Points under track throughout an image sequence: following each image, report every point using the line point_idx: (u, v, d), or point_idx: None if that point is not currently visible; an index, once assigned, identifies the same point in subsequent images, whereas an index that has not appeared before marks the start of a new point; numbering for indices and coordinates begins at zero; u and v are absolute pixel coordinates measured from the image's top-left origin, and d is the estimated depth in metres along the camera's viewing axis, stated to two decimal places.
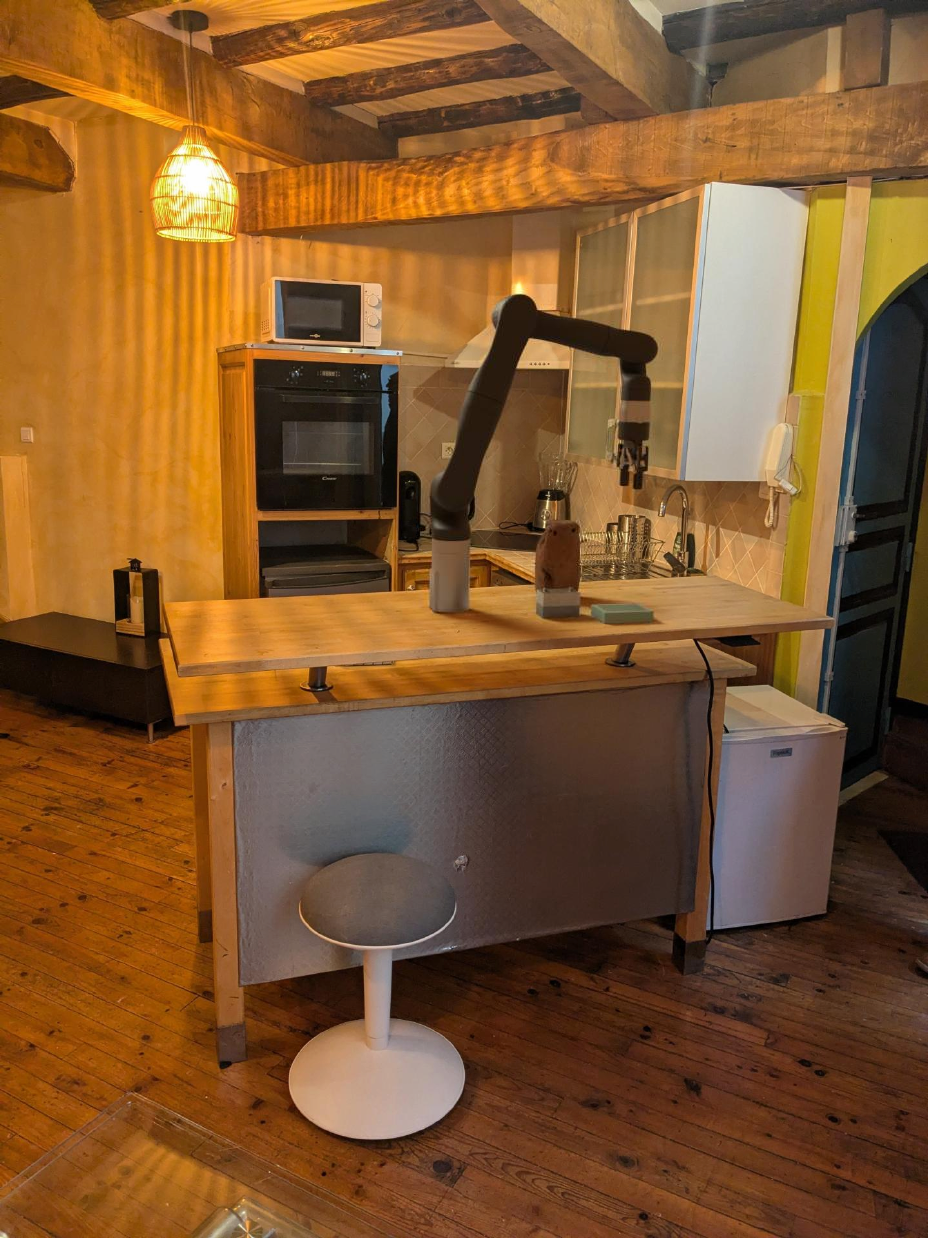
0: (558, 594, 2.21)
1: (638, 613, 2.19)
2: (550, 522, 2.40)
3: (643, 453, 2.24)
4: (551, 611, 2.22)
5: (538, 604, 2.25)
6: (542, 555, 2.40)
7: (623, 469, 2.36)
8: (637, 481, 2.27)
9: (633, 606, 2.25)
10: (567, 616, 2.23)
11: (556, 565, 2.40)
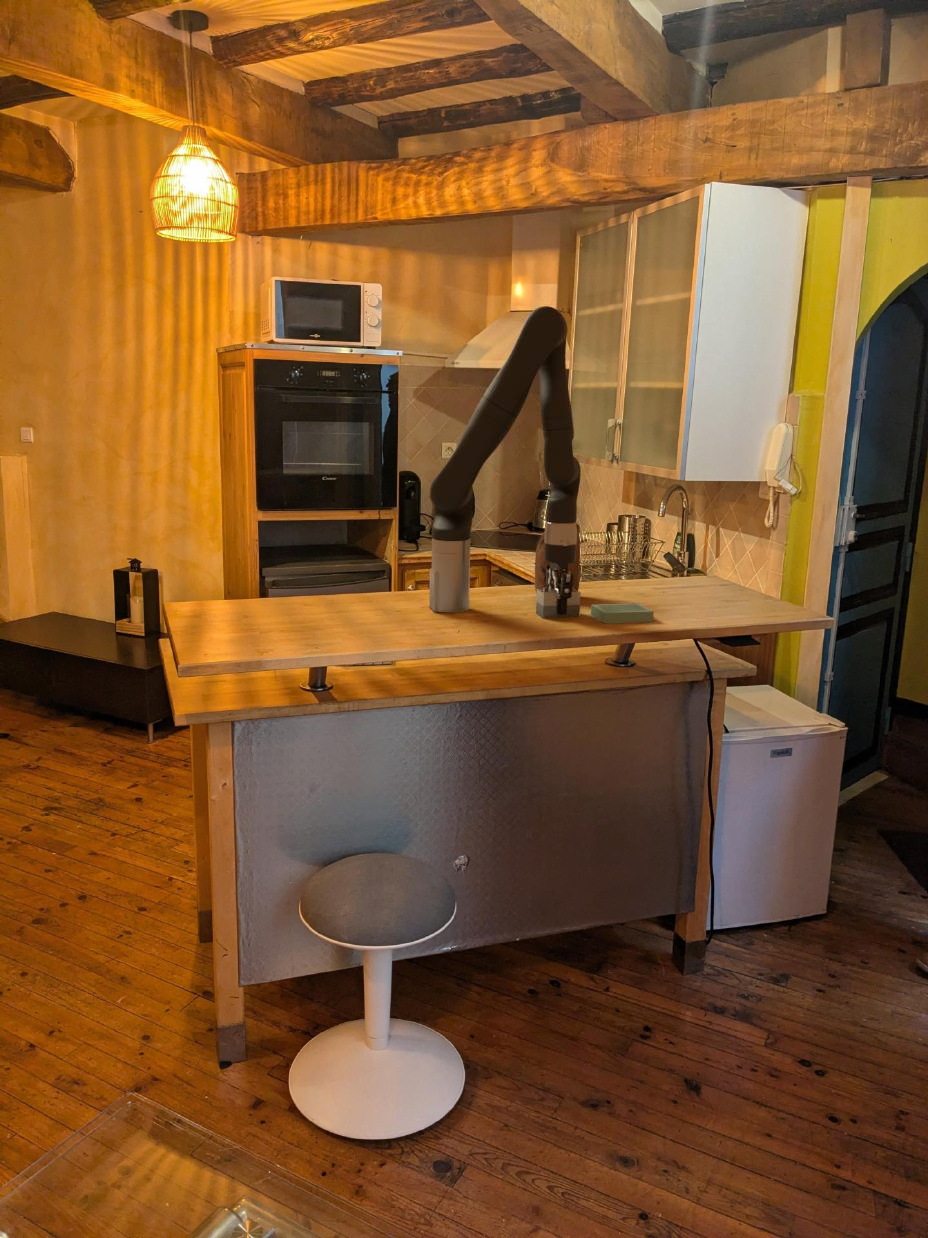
0: None
1: (638, 613, 2.19)
2: None
3: (567, 581, 2.17)
4: (552, 611, 2.22)
5: (538, 603, 2.25)
6: (542, 555, 2.40)
7: None
8: (561, 607, 2.21)
9: (633, 606, 2.25)
10: (567, 615, 2.23)
11: None
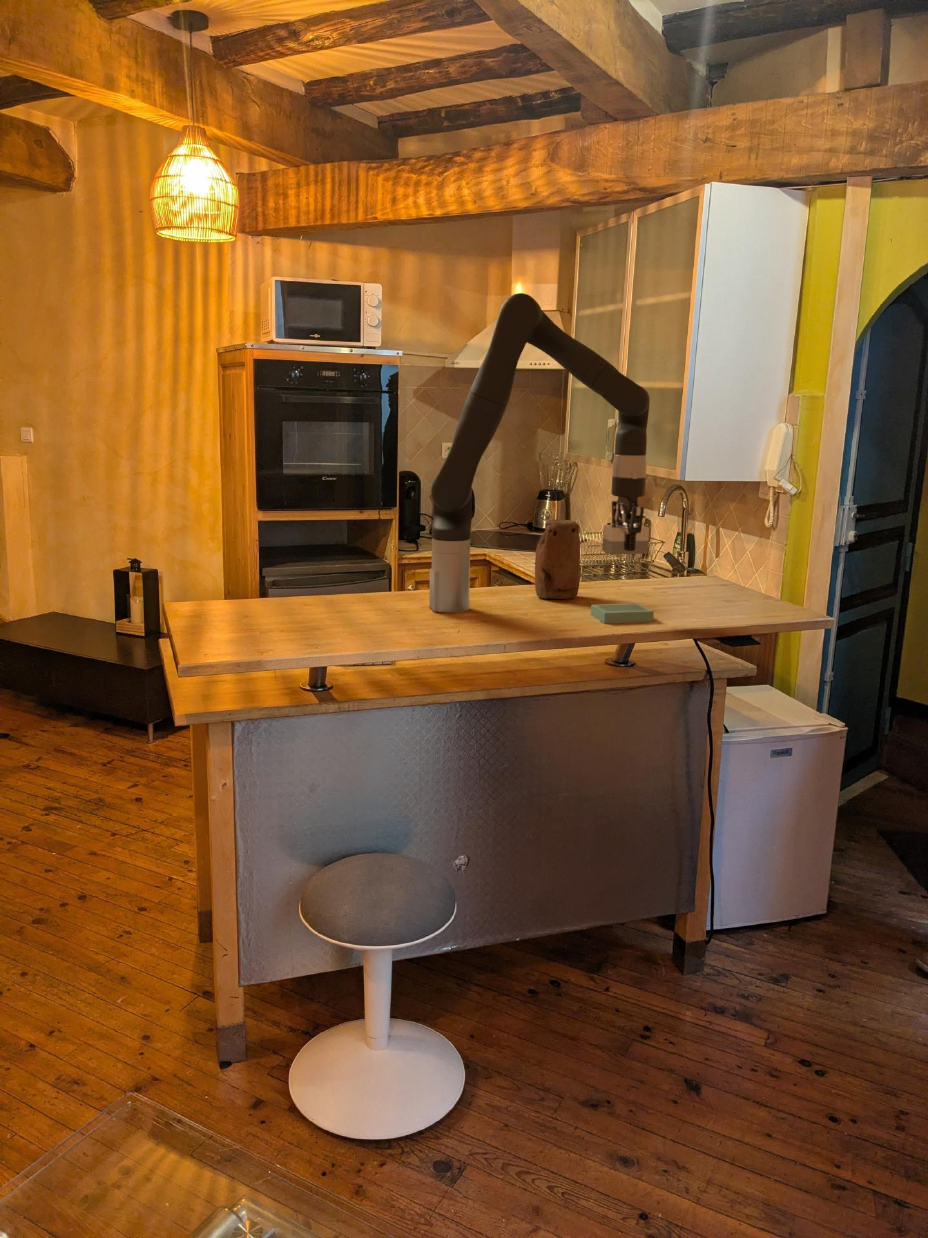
0: None
1: (638, 613, 2.19)
2: (550, 522, 2.40)
3: (637, 515, 2.11)
4: (620, 546, 2.16)
5: (605, 540, 2.19)
6: (542, 555, 2.40)
7: None
8: (630, 542, 2.15)
9: (633, 606, 2.25)
10: (635, 552, 2.17)
11: (556, 565, 2.40)
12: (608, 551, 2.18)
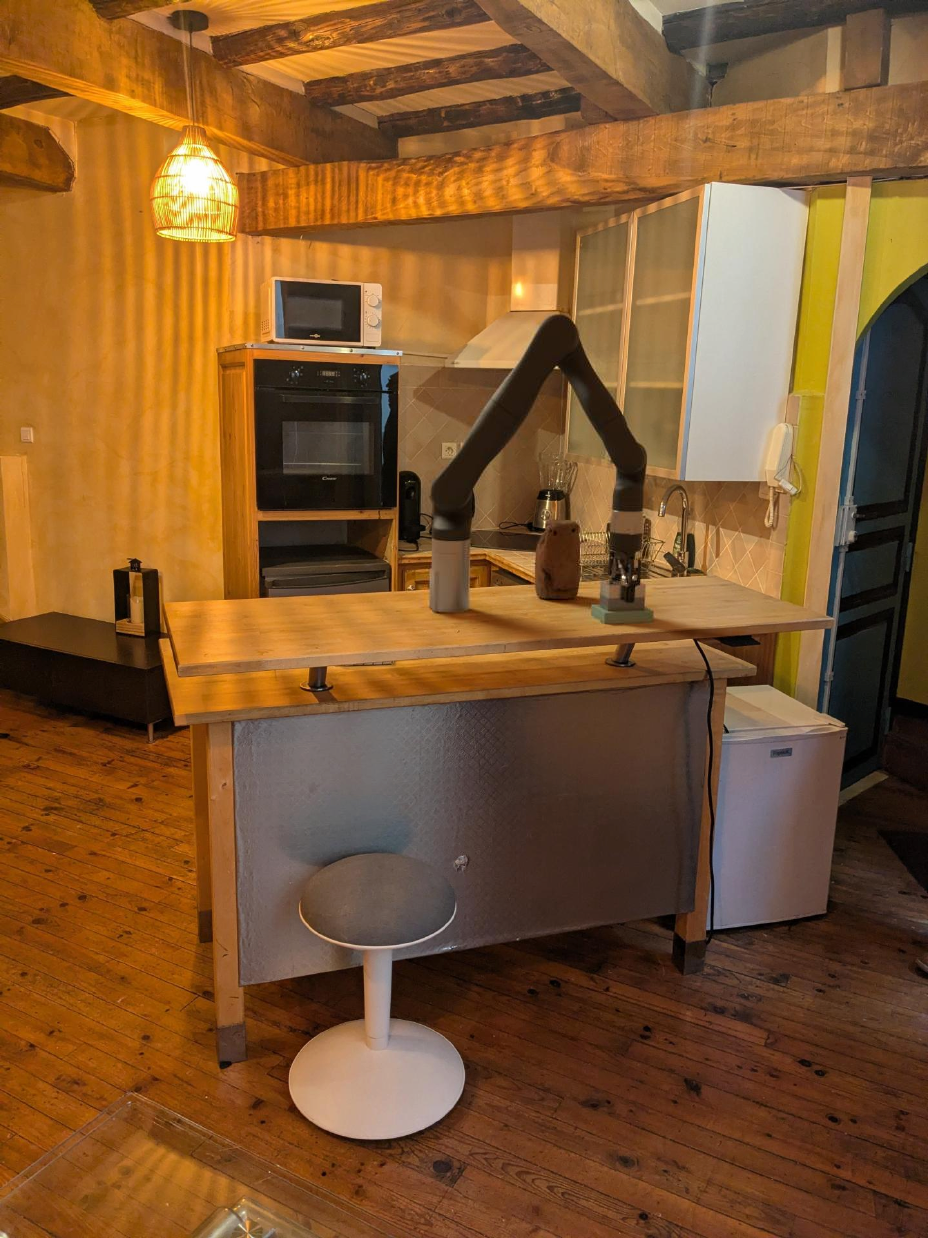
0: (623, 586, 2.19)
1: (638, 613, 2.19)
2: (550, 522, 2.40)
3: (635, 567, 2.14)
4: (617, 603, 2.19)
5: (602, 596, 2.22)
6: (542, 555, 2.40)
7: (615, 578, 2.25)
8: (629, 595, 2.17)
9: None
10: (632, 608, 2.20)
11: (556, 565, 2.40)
12: (605, 607, 2.21)
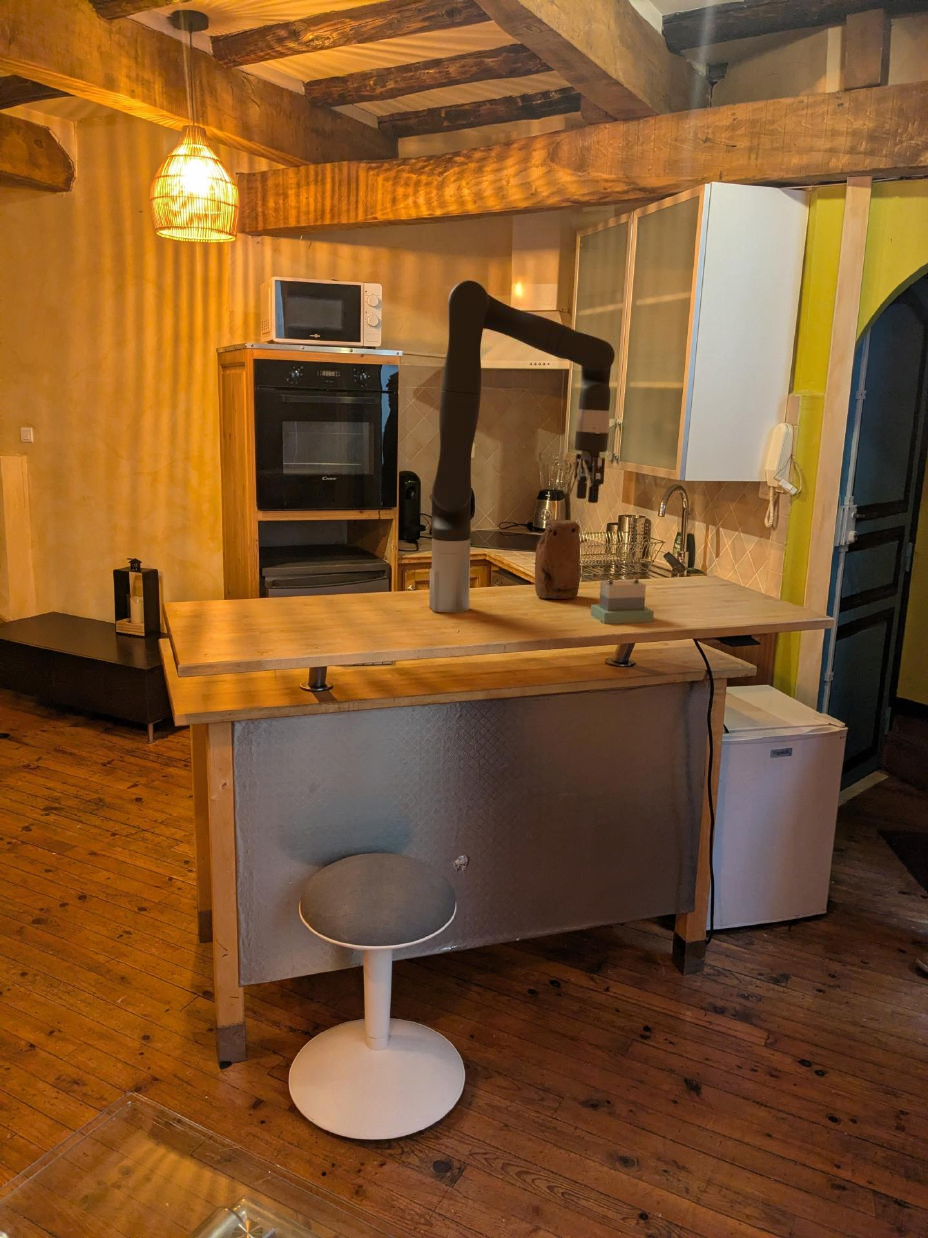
0: (623, 586, 2.19)
1: (638, 613, 2.19)
2: (550, 522, 2.40)
3: (599, 465, 2.14)
4: (617, 603, 2.19)
5: (602, 596, 2.22)
6: (542, 555, 2.40)
7: (580, 481, 2.25)
8: (592, 494, 2.17)
9: None
10: (632, 608, 2.20)
11: (556, 565, 2.40)
12: (605, 607, 2.21)
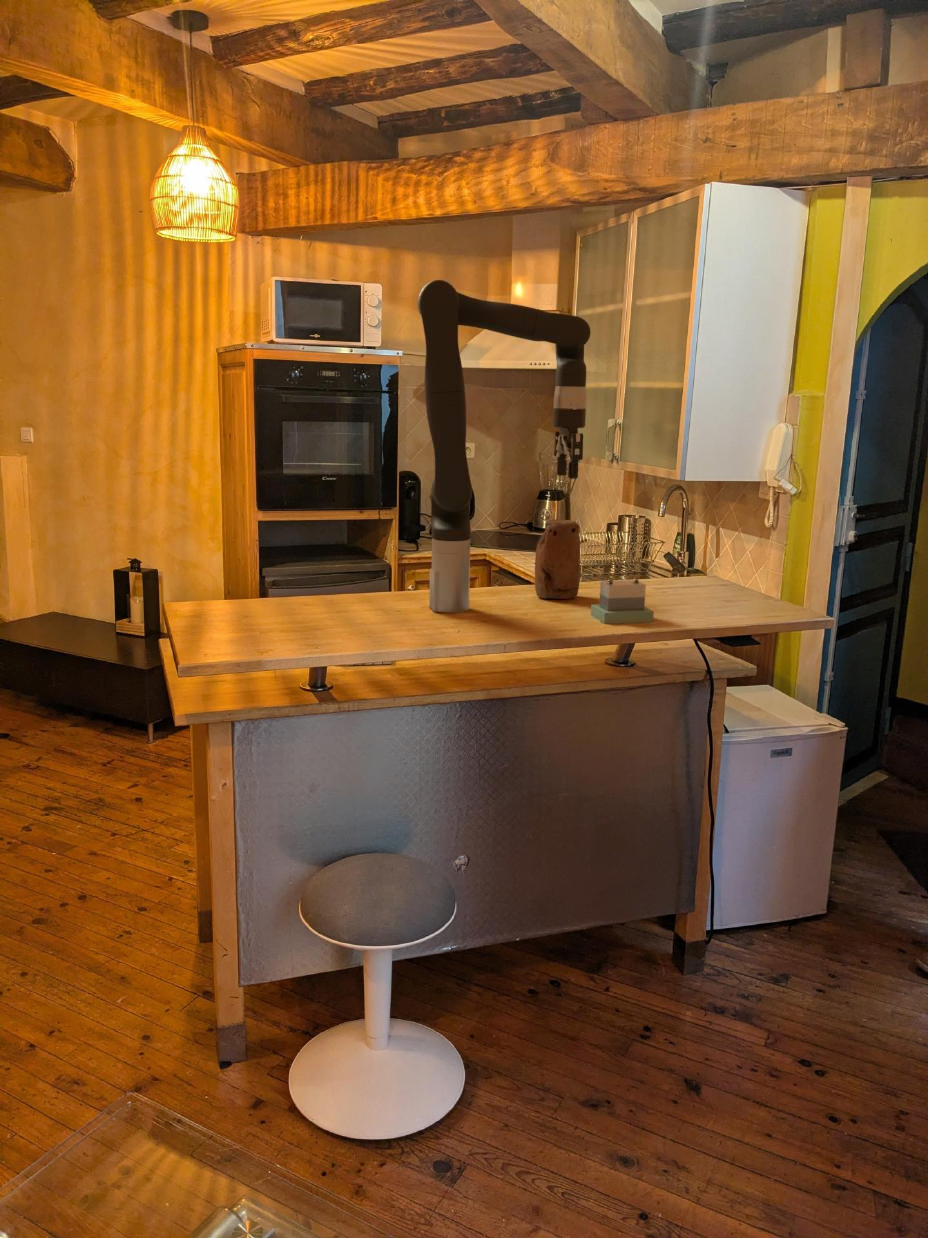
0: (623, 586, 2.19)
1: (638, 613, 2.19)
2: (550, 522, 2.40)
3: (577, 441, 2.16)
4: (617, 603, 2.19)
5: (602, 596, 2.22)
6: (542, 555, 2.40)
7: (560, 458, 2.28)
8: (572, 470, 2.19)
9: None
10: (632, 608, 2.20)
11: (556, 565, 2.40)
12: (605, 607, 2.21)
